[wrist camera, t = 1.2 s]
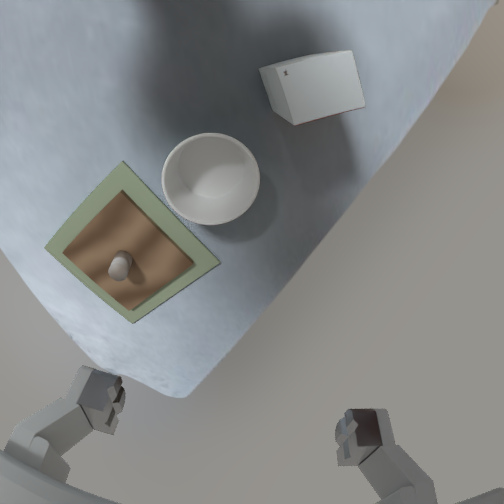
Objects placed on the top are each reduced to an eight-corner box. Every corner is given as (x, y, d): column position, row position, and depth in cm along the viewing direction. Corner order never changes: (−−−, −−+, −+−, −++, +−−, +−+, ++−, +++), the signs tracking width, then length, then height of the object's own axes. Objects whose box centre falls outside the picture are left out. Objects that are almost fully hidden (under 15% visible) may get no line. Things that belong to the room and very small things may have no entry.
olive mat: (45, 246, 47) (44, 247, 46) (123, 160, 41) (122, 161, 41) (132, 322, 57) (132, 323, 57) (220, 261, 51) (220, 262, 51)
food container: (173, 207, 46) (167, 228, 40) (165, 127, 39) (156, 137, 34) (254, 203, 47) (260, 223, 41) (254, 122, 40) (260, 131, 35)
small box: (272, 111, 40) (292, 127, 29) (257, 68, 36) (272, 66, 25) (327, 95, 39) (367, 107, 28) (314, 53, 36) (352, 48, 25)
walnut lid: (64, 249, 47) (53, 266, 43) (122, 189, 43) (112, 203, 39) (130, 307, 54) (124, 326, 50) (193, 260, 50) (191, 279, 46)
